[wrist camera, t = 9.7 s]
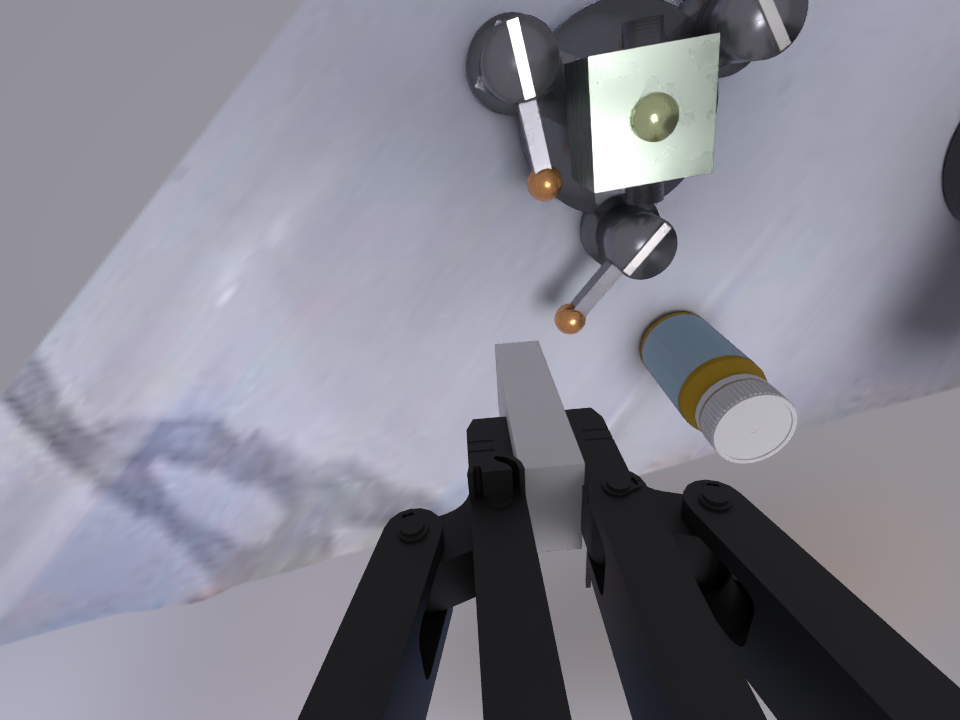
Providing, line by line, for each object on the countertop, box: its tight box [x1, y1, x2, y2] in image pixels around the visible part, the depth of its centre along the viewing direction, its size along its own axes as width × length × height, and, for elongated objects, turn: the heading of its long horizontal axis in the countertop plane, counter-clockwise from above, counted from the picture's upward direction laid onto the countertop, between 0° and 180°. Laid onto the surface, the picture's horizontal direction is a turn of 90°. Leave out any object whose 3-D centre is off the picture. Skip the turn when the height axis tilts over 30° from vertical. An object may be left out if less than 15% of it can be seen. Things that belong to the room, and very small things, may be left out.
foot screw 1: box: [478, 14, 563, 201], centre depth 35 cm, size 12×5×6 cm, turn 17°
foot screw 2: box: [554, 203, 677, 334], centre depth 41 cm, size 12×5×6 cm, turn 144°
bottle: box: [640, 312, 797, 463], centre depth 43 cm, size 7×7×15 cm
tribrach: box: [466, 0, 750, 265], centre depth 37 cm, size 22×20×10 cm
